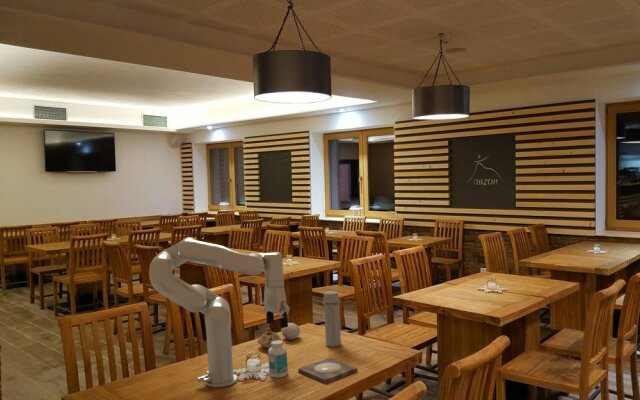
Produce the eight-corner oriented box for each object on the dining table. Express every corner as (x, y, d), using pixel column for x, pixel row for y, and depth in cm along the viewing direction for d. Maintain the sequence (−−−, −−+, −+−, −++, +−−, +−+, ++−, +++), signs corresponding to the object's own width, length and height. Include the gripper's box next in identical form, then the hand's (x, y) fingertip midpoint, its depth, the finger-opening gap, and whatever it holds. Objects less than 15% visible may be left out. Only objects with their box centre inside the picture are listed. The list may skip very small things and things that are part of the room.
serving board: (325, 383, 199) (325, 379, 198) (298, 372, 212) (298, 367, 212) (357, 371, 209) (357, 367, 209) (330, 361, 222) (329, 357, 222)
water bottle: (326, 342, 248) (323, 290, 247) (342, 342, 247) (340, 290, 246) (323, 348, 239) (321, 295, 238) (340, 348, 238) (338, 295, 237)
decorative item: (296, 323, 265) (292, 313, 258) (305, 340, 257) (301, 330, 250) (280, 331, 263) (276, 321, 256) (288, 349, 256) (284, 338, 249)
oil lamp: (263, 354, 235) (262, 337, 235) (254, 345, 249) (254, 328, 249) (286, 350, 239) (285, 333, 239) (276, 341, 253) (275, 325, 253)
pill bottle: (289, 371, 213) (287, 339, 212) (286, 378, 206) (284, 344, 205) (271, 371, 214) (269, 339, 213) (267, 378, 206) (266, 345, 206)
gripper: (255, 282, 212) (257, 323, 213) (279, 287, 199) (282, 331, 200) (270, 279, 217) (272, 319, 218) (294, 284, 204) (297, 326, 204)
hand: (277, 325), depth 209 cm, fingers open, 9 cm apart
